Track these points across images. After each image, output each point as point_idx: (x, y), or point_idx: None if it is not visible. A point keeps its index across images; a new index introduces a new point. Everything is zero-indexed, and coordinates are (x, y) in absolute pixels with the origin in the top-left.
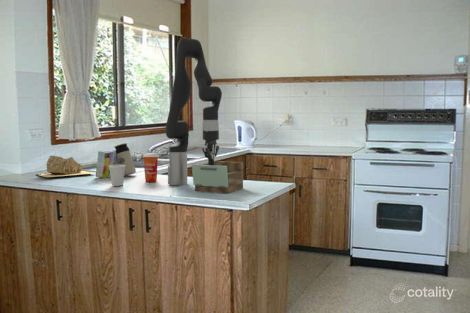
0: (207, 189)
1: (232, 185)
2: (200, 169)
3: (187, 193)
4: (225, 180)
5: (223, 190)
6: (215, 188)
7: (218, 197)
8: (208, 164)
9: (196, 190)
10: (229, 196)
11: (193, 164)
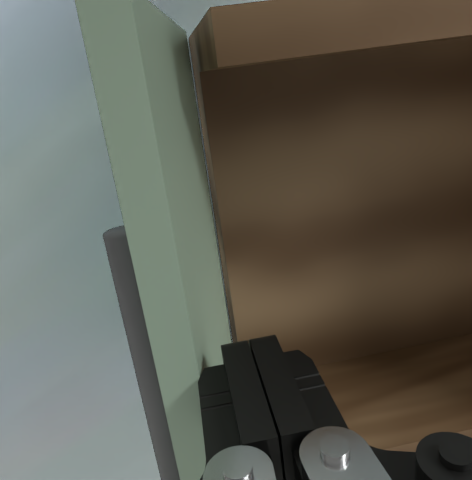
0: (213, 189)
1: None
2: (112, 229)
3: (9, 74)
4: None
5: (234, 341)
6: (226, 277)
7: (39, 417)
8: (199, 384)
9: (192, 57)
10: (130, 445)
11: (104, 33)
